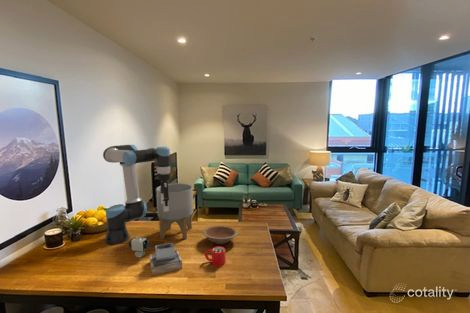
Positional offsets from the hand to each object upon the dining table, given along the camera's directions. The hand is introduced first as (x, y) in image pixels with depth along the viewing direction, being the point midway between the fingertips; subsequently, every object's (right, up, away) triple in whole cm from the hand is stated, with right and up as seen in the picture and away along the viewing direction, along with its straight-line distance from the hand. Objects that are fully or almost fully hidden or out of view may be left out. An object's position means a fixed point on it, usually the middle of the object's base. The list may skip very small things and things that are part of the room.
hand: (164, 207), depth 158 cm
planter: (0, -25, +32) cm, 41 cm away
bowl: (+33, -27, +20) cm, 47 cm away
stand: (+3, -31, -9) cm, 33 cm away
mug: (+31, -31, -6) cm, 44 cm away
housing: (+3, -27, -10) cm, 29 cm away
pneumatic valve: (-15, -30, +1) cm, 34 cm away
